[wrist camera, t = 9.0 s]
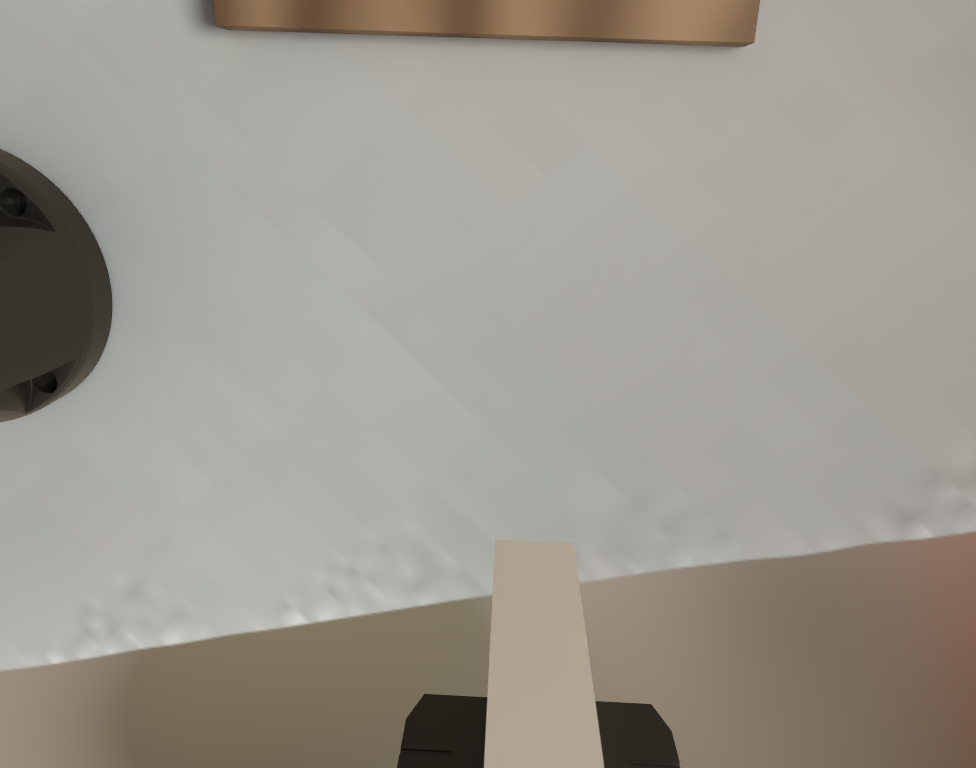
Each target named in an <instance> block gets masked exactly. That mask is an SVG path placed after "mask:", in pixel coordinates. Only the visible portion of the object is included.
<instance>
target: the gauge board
mask: <svg viewBox="0 0 976 768" xmlns="http://www.w3.org/2000/svg"><path fill="white" fill-rule="evenodd" d="M213 3H214V16H215V25H216V26H219V27H221V28H224V29H227V30H254V31H285V32H316V33H346V34H377V35H408V36H438V37H469V38H499V39H530V40H561V41H591V42H622V43H653V44H683V45H714V46H747V45H750V44H752V43H754V39H755V32H756V25H757V18H758V11H759V4H760V0H213Z"/></svg>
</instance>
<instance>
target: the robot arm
mask: <svg viewBox="0 0 976 768" xmlns="http://www.w3.org/2000/svg"><path fill="white" fill-rule="evenodd" d="M111 319H112V293H111V285H110V279H109V275H108V271H107V267H106V264H105V261H104V257H103V255H102V252H101V250H100V247H99V245H98V243H97V241H96V239H95V237H94V235H93V233H92V231H91V229H90V228H89V226H88V224H87V223H86V221H85V220H84V218H83V217H82V215H81V214H80V213H79V211H78V210H77V208H76V207H75V206H74V205H73V203H72V202H71V201H70V200H69V199H68V198H67V196H66V195H65V194H64V193H63V192H62V191H61V190H60V189H59V188H58V187H57V186H56V185H55V184H54V183H52V182H51V181H50V180H49V179H48V178H47V177H45V176H44V175H43V174H42V173H40V172H39V171H38V170H36V169H35V168H34V167H32V166H31V165H29V164H27V163H26V162H24V161H23V160H21V159H19V158H17V157H16V156H14V155H12V154H10V153H8V152H6V151H3V150H1V149H0V422H4V421H9V420H13V419H16V418H19V417H23V416H26V415H28V414H31V413H33V412H36V411H38V410H40V409H42V408H44V407H45V406H47V405H49V404H50V403H52V402H54V401H56V400H57V399H59V398H61V397H63V396H64V395H66V394H68V393H69V392H71V391H72V390H73V389H75V388H76V387H77V386H78V385H79V384H80V383H82V382H83V381H84V379H85V378H86V377H87V376H88V375H89V374H90V373H91V371H92V370H93V369H94V367H95V366H96V364H97V362H98V361H99V359H100V357H101V355H102V353H103V351H104V348H105V346H106V343H107V339H108V336H109V332H110V327H111ZM488 679H489V680H488V697H469V696H451V695H433V694H431V695H430V694H424V695H423V697H422V698H421V699H420V701H419V702H418V704H417V705H416V706H415V708H414V709H413V710H412V712H411V713H410V714H409V716H408V717H407V719H406V723H405V728H404V734H403V739H402V744H401V752H400V755H399V760H398V766H397V768H680V766H679V758H678V754H677V750H676V747H675V743H674V739H673V735H672V732H671V730H670V728H669V727H668V726H667V724H666V723H665V722H664V721H663V719H662V718H661V717H660V715H659V714H658V713H657V711H656V710H655V709H654V707H653V706H652V705H651V704H637V703H619V702H599V701H595V697H594V689H593V682H592V675H591V667H590V660H589V653H588V646H587V638H586V631H585V624H584V617H583V609H582V602H581V595H580V588H579V580H578V573H577V566H576V559H575V551H574V544H573V543H556V542H535V541H515V540H496V544H495V563H494V582H493V602H492V621H491V640H490V659H489V678H488Z"/></svg>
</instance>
